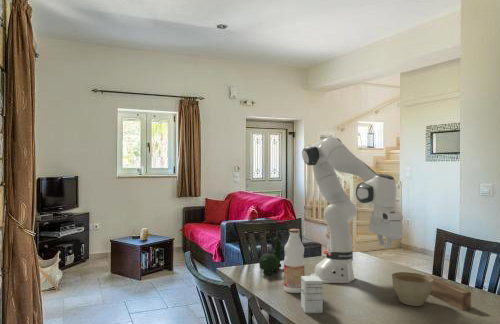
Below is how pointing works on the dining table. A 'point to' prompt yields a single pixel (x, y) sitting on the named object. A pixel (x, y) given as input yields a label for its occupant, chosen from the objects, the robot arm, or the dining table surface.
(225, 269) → the dining table surface
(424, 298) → the planter bowl
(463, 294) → the board
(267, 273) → the green shrub
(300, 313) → the dining table surface
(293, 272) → the fruit juice
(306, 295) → the supplement box
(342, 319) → the dining table surface
